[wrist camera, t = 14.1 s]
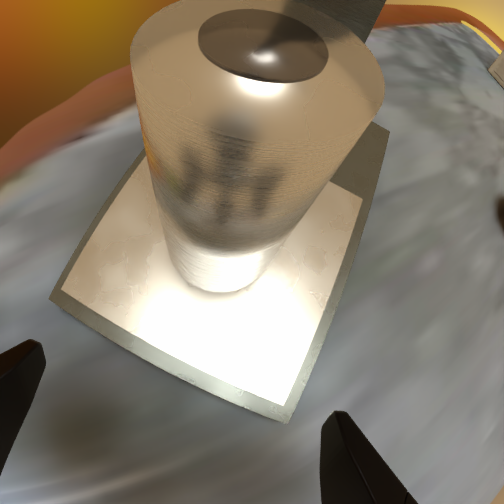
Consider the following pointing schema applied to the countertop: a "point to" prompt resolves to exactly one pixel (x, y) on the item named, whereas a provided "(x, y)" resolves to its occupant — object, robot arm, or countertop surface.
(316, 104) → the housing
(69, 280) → the arbor press
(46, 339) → the countertop surface
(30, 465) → the countertop surface
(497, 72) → the supplement box
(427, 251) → the countertop surface
